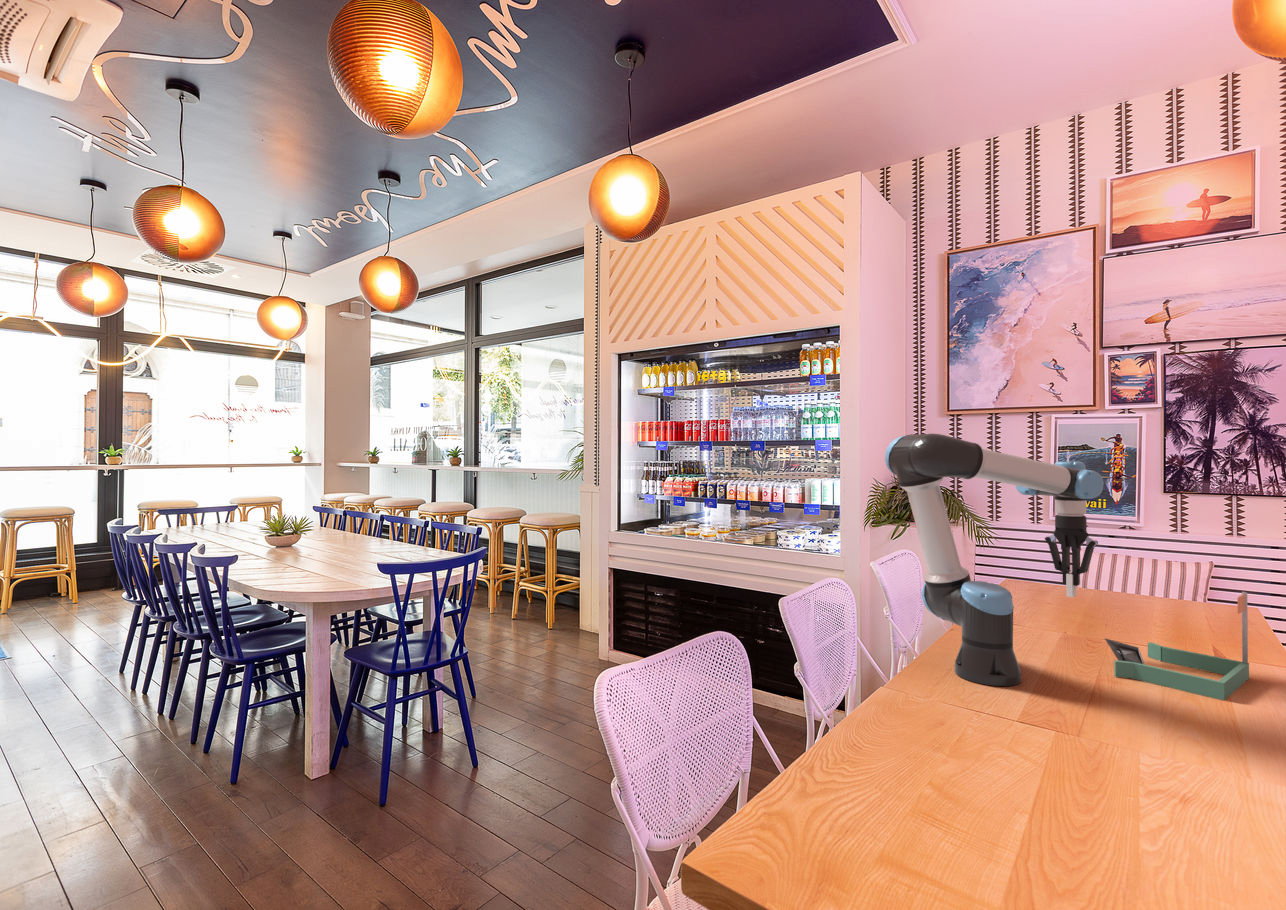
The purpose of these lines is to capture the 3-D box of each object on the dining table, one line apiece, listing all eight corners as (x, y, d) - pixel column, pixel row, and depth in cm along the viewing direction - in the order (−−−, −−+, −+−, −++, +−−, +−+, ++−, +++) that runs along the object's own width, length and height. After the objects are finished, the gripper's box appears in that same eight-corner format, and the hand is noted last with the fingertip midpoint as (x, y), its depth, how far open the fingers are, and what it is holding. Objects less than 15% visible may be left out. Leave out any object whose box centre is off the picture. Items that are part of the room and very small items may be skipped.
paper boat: (1164, 665, 164) (1152, 663, 159) (1146, 682, 166) (1133, 680, 161) (1121, 632, 173) (1108, 628, 168) (1104, 648, 175) (1091, 645, 170)
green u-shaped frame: (1112, 676, 160) (1112, 591, 160) (1148, 655, 175) (1148, 578, 175) (1221, 702, 143) (1220, 607, 143) (1250, 677, 158) (1250, 591, 158)
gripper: (1102, 515, 176) (1103, 598, 176) (1050, 512, 187) (1051, 590, 187) (1091, 517, 172) (1092, 602, 172) (1039, 513, 182) (1040, 593, 182)
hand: (1071, 596), depth 179 cm, fingers closed
